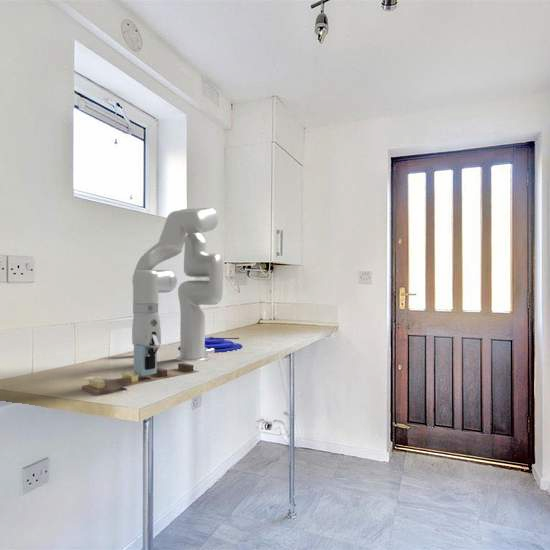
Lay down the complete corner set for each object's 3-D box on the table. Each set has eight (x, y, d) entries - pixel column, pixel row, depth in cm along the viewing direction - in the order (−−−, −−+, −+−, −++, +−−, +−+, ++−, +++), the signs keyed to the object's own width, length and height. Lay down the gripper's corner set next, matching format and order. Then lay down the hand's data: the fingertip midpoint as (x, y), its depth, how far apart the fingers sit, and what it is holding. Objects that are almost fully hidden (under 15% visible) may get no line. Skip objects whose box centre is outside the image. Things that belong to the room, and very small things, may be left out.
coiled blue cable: (167, 337, 189) (218, 331, 210) (166, 348, 189) (218, 342, 210) (202, 343, 168) (255, 337, 189) (202, 356, 168) (255, 348, 188)
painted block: (148, 370, 127) (148, 342, 127) (156, 373, 123) (156, 344, 124) (133, 373, 123) (133, 344, 123) (141, 375, 120) (142, 346, 120)
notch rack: (182, 370, 139) (182, 361, 139) (199, 374, 132) (199, 365, 132) (82, 389, 114) (82, 378, 114) (97, 395, 107) (97, 384, 107)
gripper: (171, 309, 121) (171, 369, 120) (142, 307, 132) (142, 362, 132) (148, 311, 115) (148, 374, 115) (121, 308, 127) (120, 365, 126)
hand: (145, 367), depth 123 cm, fingers closed on painted block, 4 cm apart
